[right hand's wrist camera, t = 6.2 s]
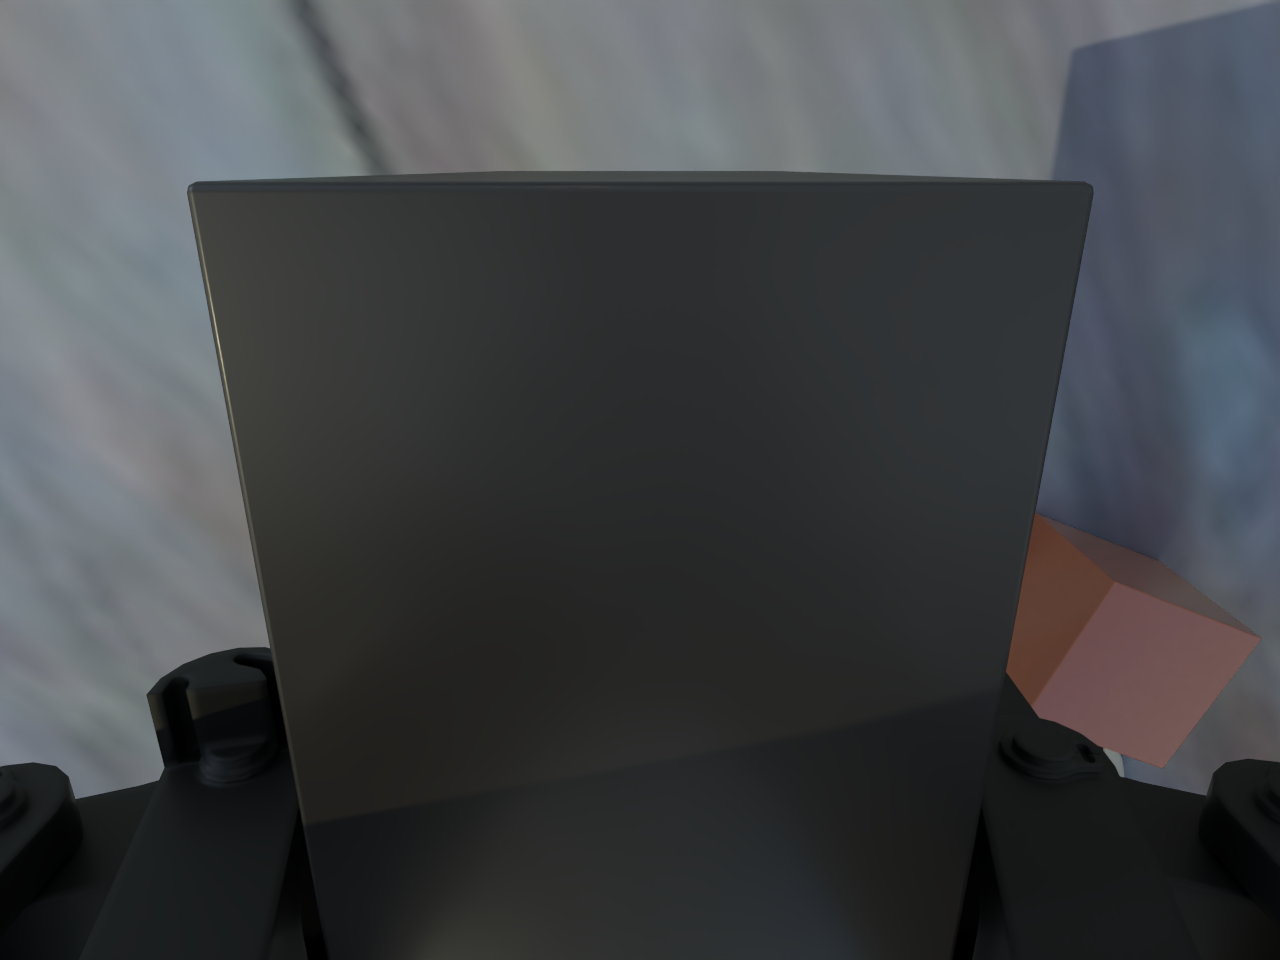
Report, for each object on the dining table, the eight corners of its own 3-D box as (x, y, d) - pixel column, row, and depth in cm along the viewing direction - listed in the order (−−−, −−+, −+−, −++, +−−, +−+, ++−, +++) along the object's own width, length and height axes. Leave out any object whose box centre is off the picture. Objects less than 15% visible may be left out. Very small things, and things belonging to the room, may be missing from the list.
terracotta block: (1035, 512, 28) (1114, 581, 23) (1160, 561, 29) (1263, 638, 24) (961, 632, 30) (1022, 719, 25) (1082, 676, 30) (1163, 769, 26)
